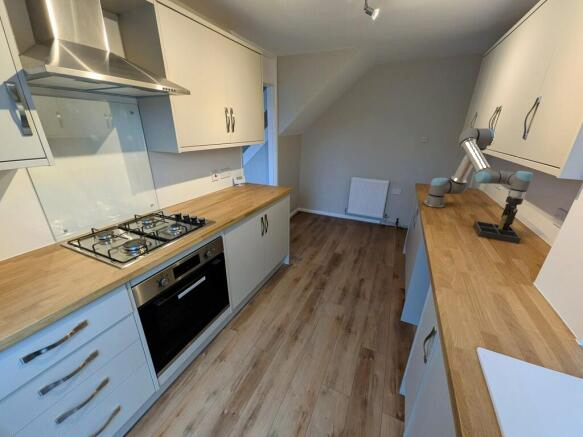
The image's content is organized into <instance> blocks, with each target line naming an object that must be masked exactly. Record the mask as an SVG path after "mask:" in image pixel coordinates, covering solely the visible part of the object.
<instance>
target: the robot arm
mask: <svg viewBox="0 0 583 437" xmlns="http://www.w3.org/2000/svg"><path fill="white" fill-rule="evenodd" d="M494 131H495V130H494V129H493V128H488V127H487V128H476V127H475V128H474V127H471V128H467V129H465V130H464V131H462V132H461V133H460V135H459V137H458V145H459V147H460V149H461V150H463V151H464V153H465V154H464V156H463V158H462V159H461V162H460V164H459V166H458V168H457V169H456V171H455V173H454V175H451V177H450V178H447V177H435V178H432V180H431V182H430V185H429V190H428V193H427V196H426V198H425V200H424V201H423V205H424V206H426V207H430V208H434V209H435V208H436V209H443V208H444V207H445V196H446V195H461V194H463V193H465V192H466V190H467V189H468V180H467V178H468V177H469V175H470V173H471V171H472V169H474V171H475V172H476V174H475V176H474V178H475V179H474V180H475V182H476V183H478V184H484V185H485V184H494V185H506V186H507V185H508V186H510V188H509V191H507V193H508V195H507V196H506V199H505V206H504V209H503V211H502V214H501V216H500V222H499V224H500V223H501V221H502V216H504V215H507V219H506V222H505V223H504V226H503V228H502V230H507V231H508V229H509V226H510V227H511V226H512V225H513V224H514V221H515V218H516V215H517V213H518V211H519V210H518V207H517V206H521V205H522V204H523V202H524V199H525V197H526V195H527V192H528V190H529V186H530V184H531V182H532V180H533V177H534V173H533V172H532V171H526V170H517V171H516V172H512V171H509V170H500V171H493V168H492V167H491V166H490V165H489V163H488V160H487V159H486V157H485V156H484V154H483V153H482V152H483V151H486V149H487V148H488V147H491V146H492V145H491V143H492V141H493V138H494Z"/></svg>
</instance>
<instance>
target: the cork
mask: <svg viewBox="0 0 583 437" xmlns="http://www.w3.org/2000/svg"><path fill="white" fill-rule="evenodd" d="M501 216H502V215H501ZM506 219H507V215H504V216H502V218H501V220H502V221H501V220H500V222H501V223H500V222H499V224H498V225H499V226H498V228H497V229H501V230H502V228H503V226H504V223H505V222H506ZM508 231H509V229H508Z"/></svg>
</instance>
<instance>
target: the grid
mask: <svg viewBox="0 0 583 437" xmlns="http://www.w3.org/2000/svg"><path fill="white" fill-rule="evenodd" d="M498 226H499V224H496V223H492V222H491V223H490V222H484V221H479V220H475V221H474V223H473V227H474V230H475V233H477V236H478V237H481V238H485V239H490V240H496V241H502V242H508V243H513V244H518V245H519V244H520V243H521V240H522V237H521V236H520V235H519V233H518V232H517V231H516V230H515V229H514V228H513V226H511V225H510V226H509V231H507V230H501V229H497V228H498Z"/></svg>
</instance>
